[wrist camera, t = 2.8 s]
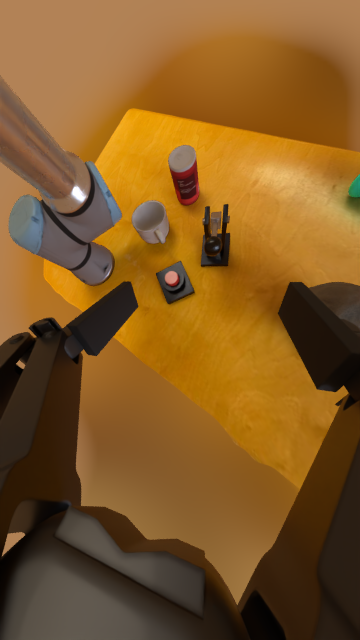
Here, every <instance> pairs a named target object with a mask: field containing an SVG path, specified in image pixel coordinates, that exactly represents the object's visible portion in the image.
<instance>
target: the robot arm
mask: <svg viewBox="0 0 360 640" xmlns="http://www.w3.org/2000/svg"><path fill="white" fill-rule="evenodd" d="M0 162H1V163H2V164H4V165H5V166H6V167H8V168H9V169H10V170H12V171H13V172H14V173H16V174H17V175H19V176H20V177H21V178H23V179H24V180H25V181H27V182H28V183H30V184H31V185H32V186H34V187H35V188H36V189H38V190H39V193H40V195H41V197H42V200H41V201H39V200H38V199H37V198H36V197H33V196H31V195H24V196H22V197H20V198H19V199H18V201H17V202H16V203H15V205H14V206H13V208H12V211H11V213H10V217H9V233H10V236H11V238H12V239H13V241H14V242H15V243H16V244H18V245H19V246H21V247H23V248H25V249H26V250H28V251H30V252H31V253H33V254H36V255H38V256H41V257H43V258H45V259H47V260H49V261H51V262H53V263H55V264H57V265H60V266H62V267H64V268H66V269H68V270H70V271H71V272H72V273H73V274H74V275H75V276H77V277H78V278H79V279H80V280H81V281H82V282H84V283H86V284H88V285H91V286H97V285H100V284H102V283H104V282H105V281H106V280H107V279H108V278H109V277H110V276H111V274H112V272H113V269H114V257H113V255H112V253H111V252H110V251H109V250H108V249H107V248H105V247H104V246H102V245H99V244H96V243H94V242H91V241H93V240H94V239H95V238H97V237H98V236H100V235H101V234H103V233H104V232H106V231H107V230H108V229H110V228H111V227H113V226H114V225H115V224H116V223H117V222H118V221H119V220H120V219H121V217H122V213H121V211H120V209H119V207H118V205H117V203H116V202H115V200H114V198H113V196H112V195H111V193H110V191H109V189H108V187H107V186H106V184H105V182H104V180H103V178H102V177H101V175H100V173H99V171H98V170H97V168H96V166H95V165H94V163H93V162H91V161H89V162H85V163H84V162H83V161H82V160H81V159H80V158H79V157H78V156H77V155H75V154H74V153H72V152H69V151H64V150H63V149H62V148H61V147H60V146H59V145H58V143H57V142H56V141H55V140H54V139H53V137H52V136H51V135H50V134H49V133H48V131H47V130H46V129H45V128H44V127H43V126H42V124H41V123H40V122H39V121H38V120H37V118H36V117H35V116H34V115H33V114H32V113H31V111H30V110H29V109H28V108H27V107H26V105H25V104H24V103H23V102H22V101H21V100H20V98H19V97H18V96H17V95H16V94H15V92H14V91H13V90H12V89H11V88H10V87H9V85H8V84H7V83H6V82H5V81H4V79H3V78H2V77H1V76H0ZM137 308H138V303H137V300H136V297H135V294H134V291H133V287H132V284H131V282H123V283H121V284H120V285H119V286H117V287H116V288H115V289H113V290H112V291H111V292H109V293H108V294H107V295H105V296H104V297H103V298H102V299H100V300H99V301H98V302H96V303H95V304H94V305H92V306H91V307H90V308H88V309H87V310H86V311H84V312H83V313H82V314H81V315H79V316H78V317H77V318H75V319H74V320H73V321H71V322H70V323H69V324H67V325H66V326H65V327H64V328H63V329H62V328H61V327H60V325H59V324H58V323H57V321H56V320H55V319H54V318H45V319H42V320H39V321H37V322H35V323H33V324H32V325H31V326H30V327H29V329H30V330H31V331H32V332H33V333H34V334H35V335H36V336H37V337H36V338H34V337H33V336H32V335H31V334H30V333H28V332H24V333H20V334H16V335H14V336H12V337H11V338H9V339H8V340H7V341H5V342H4V343H3V344H2V345H1V346H0V640H360V328H359V327H357V326H356V325H355V324H353V323H351V322H349V321H348V320H346V319H340V318H339V317H338V316H337V315H336V314H335V313H334V312H333V311H331V310H330V309H329V308H328V307H327V306H326V305H325V304H324V303H323V302H322V301H321V300H320V299H319V298H318V297H317V296H316V295H315V294H314V293H313V292H312V291H311V290H310V289H309V288H308V287H307V286H306V285H304V284H303V283H302V282H290V283H289V286H288V288H287V291H286V293H285V296H284V299H283V301H282V304H281V306H280V309H279V312H278V314H279V316H280V318H281V320H282V322H283V324H284V326H285V328H286V330H287V332H288V334H289V336H290V338H291V340H292V342H293V343H294V345H295V347H296V349H297V351H298V353H299V355H300V357H301V359H302V361H303V363H304V365H305V367H306V369H307V371H308V373H309V375H310V377H311V379H312V380H313V382H314V384H315V386H316V388H317V389H319V390H325V391H332V392H337V391H338V390H339V389H340V388H341V387H342V386H343V385H344V386H345V388H346V389H347V391H348V392H349V394H347V395H346V396H345V397H344V398H342V399H341V400H340V401H339V402H337V403H336V404H335V405H337V406H339V405H340V407H339V409H338V412H337V414H336V416H335V418H334V420H333V422H332V424H331V426H330V428H329V430H328V432H327V435H326V437H325V439H324V441H323V443H322V445H321V447H320V449H319V451H318V453H317V455H316V458H315V460H314V462H313V464H312V466H311V468H310V470H309V472H308V474H307V476H306V479H305V481H304V483H303V485H302V487H301V489H300V491H299V493H298V495H297V497H296V500H295V502H294V504H293V506H292V508H291V510H290V512H289V514H288V516H287V518H286V521H285V522H284V525H283V527H282V529H281V531H280V533H279V535H278V537H277V539H276V541H275V543H274V545H273V546H272V548H271V549H270V550H269V551H268V552H267V553H265V554H264V556H263V557H262V558H261V560H260V562H259V563H258V565H257V567H256V569H255V571H254V573H253V575H252V577H251V579H250V581H249V583H248V585H247V587H246V589H245V591H244V593H243V595H242V597H241V599H240V601H239V603H238V605H237V604H236V602H235V600H234V598H233V596H232V594H231V592H230V590H229V589H228V587H227V585H226V584H225V582H224V580H223V579H222V577H221V576H220V574H219V573H218V572H217V570H216V569H215V568H214V566H213V565H212V564H211V563H210V562H209V561H208V560H207V559H206V558H205V553H204V551H203V550H201V549H199V548H196V547H194V546H192V545H190V544H188V543H185V542H183V541H180V540H179V539H160V540H148V539H146V538H145V537H144V536H143V535H142V534H141V532H140V531H139V530H138V529H137V528H136V527H135V526H134V525H133V523H132V522H130V520H129V519H128V518H127V517H126V516H124V515H122V514H120V513H118V512H115V511H113V510H111V509H108V508H106V507H93V506H81V483H80V478H79V476H78V474H77V472H76V452H77V436H78V420H79V404H80V390H81V375H82V360H83V356H82V354H81V351H82V350H83V349H84V350H85V352H86V353H87V354H88V355H93V356H97V355H98V354H99V353H100V351H101V350H102V349H103V348H104V347H105V346H106V344H107V343H108V341H110V339H111V338H112V337H113V336H114V335H115V334H116V332H117V331H118V330H119V329H120V328H121V327H122V325H123V324H124V323H125V322H126V321H127V319H128V318H129V317H130V316H131V315H132V313H133V312H134V311H135V310H136V309H137ZM19 360H20V361H21V362H23V363H24V364H25V368H24V369H22V368H20V367H19V366H18V365H16V363H17V362H18V361H19ZM16 532H23V533H25V536H24V537H23V538H22V539H21V540H19V541H18V542H17V543H16V544H15V545H14V546H13V547H12V548H11V549H10V550H9V551H7V552H6V553H5V554H4V555H3V556H2V553H3V549H4V546H5V542H6V538H7V534H8V533H16Z"/></svg>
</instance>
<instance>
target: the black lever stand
mask: <svg viewBox="0 0 360 640" xmlns="http://www.w3.org/2000/svg"><path fill="white" fill-rule="evenodd" d="M229 220H230V216H228V204H225V205H224V208H223V221H222V234H217V237H219V238H220V239H221V241H222V249H221V251H220V253H219V254H217V255H216V256H209V255H207V254H206V253H205V251H204V243H205V241H206V240H207V238H209V237H211V230H210V206H208V207H205V217H204V218H203V225H204V232H205V235H203V246H202V258H201V266H228V257H229V242H230V233H226V228H227V223H229Z"/></svg>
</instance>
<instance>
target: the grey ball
mask: <svg viewBox="0 0 360 640" xmlns="http://www.w3.org/2000/svg"><path fill="white" fill-rule="evenodd" d="M309 289H310V290H311V291H312V292H313V293H314V294H315V295H316V296H317V297H318V298H319V299H320V300H321V301H322V302H323V303H324V304H325V305H326V306H327V307H328V308H329V309H330V310H331V311H333V312H334V313H335V314H336V315H337V316H338V317H339V318H340V319H346V320H348V321H349V322H351V323H353V324H355V325H356V326H357V327H359V328H360V286H358V285H354V284H351V283H344V282H332V283H326V284H321V285H317V286H315V287H310V288H309Z"/></svg>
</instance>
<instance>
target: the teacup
mask: <svg viewBox="0 0 360 640" xmlns="http://www.w3.org/2000/svg"><path fill="white" fill-rule="evenodd" d="M132 224H133V226H134V228H135V229H136V230H137V232H138V233H139V235H140V236H141V237H142V239H143V240H144V241H146V242H148V243H152V244H155V243H159V242H161V243H162V244H163V243H165V242H166V240H165V237H166V236H167V234H168V232H169V222H168V218H167V215H166V210H165V207H164V205H163V204H162V203H160V202H158V201H153V200H152V201H147V202H144V203H142V204H141V205H139V206H138V207H137V208H136V209H135V211H134V213H133V215H132Z"/></svg>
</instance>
